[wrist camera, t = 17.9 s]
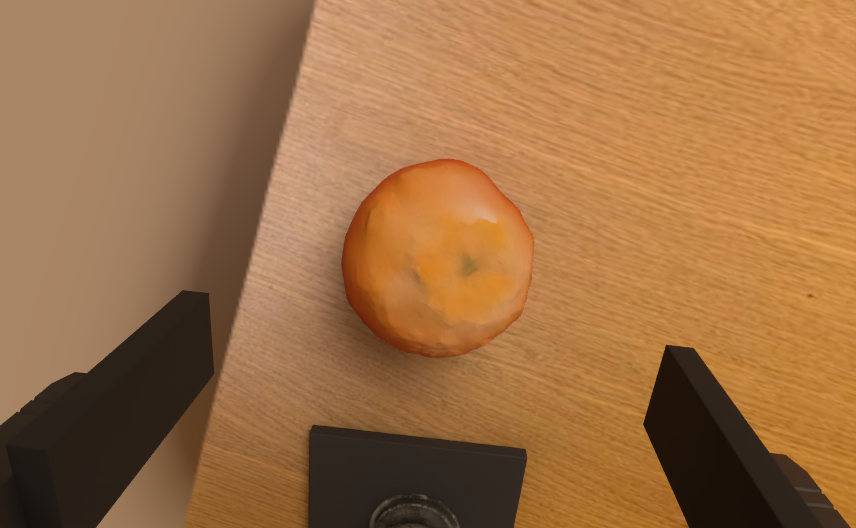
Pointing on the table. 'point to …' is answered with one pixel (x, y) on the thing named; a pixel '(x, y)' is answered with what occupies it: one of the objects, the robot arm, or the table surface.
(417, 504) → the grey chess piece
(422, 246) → the fruit
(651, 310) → the table surface
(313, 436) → the mat
